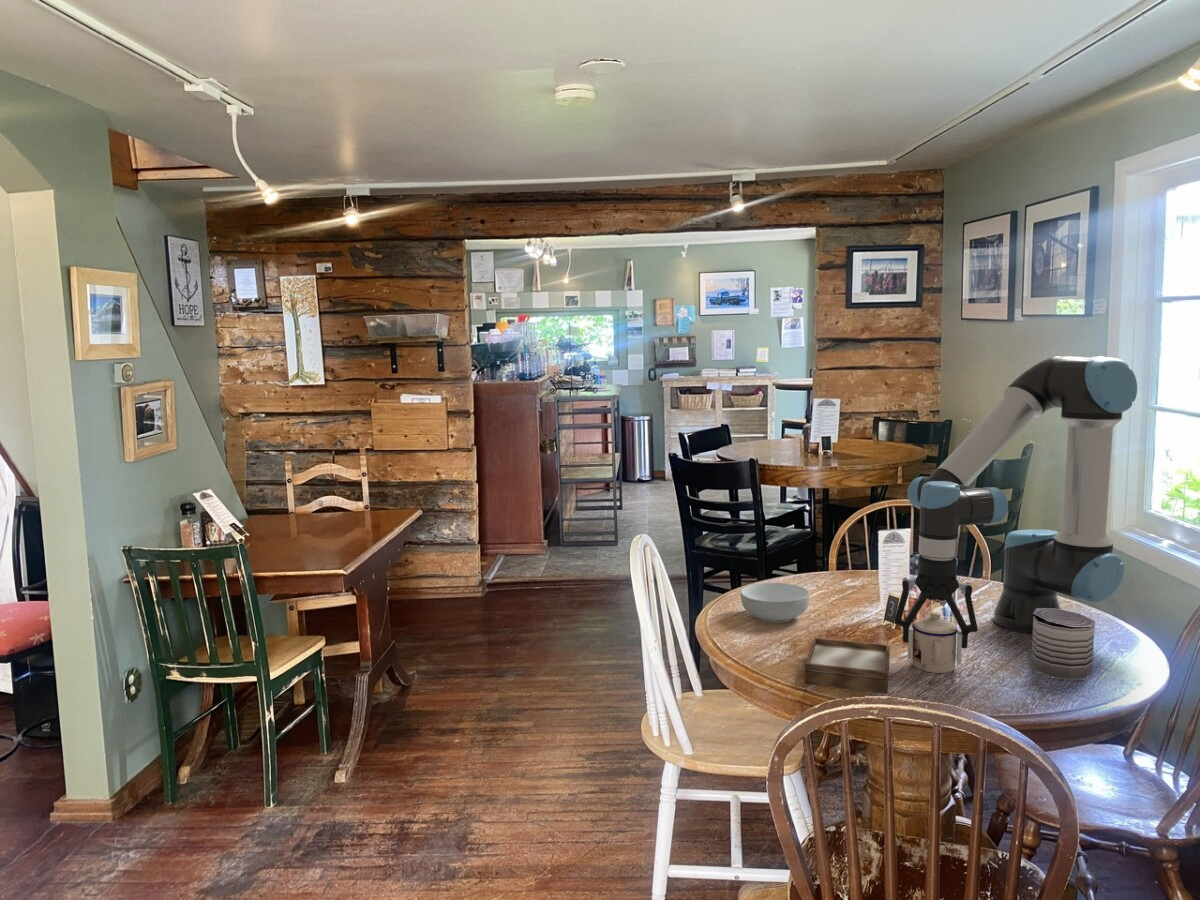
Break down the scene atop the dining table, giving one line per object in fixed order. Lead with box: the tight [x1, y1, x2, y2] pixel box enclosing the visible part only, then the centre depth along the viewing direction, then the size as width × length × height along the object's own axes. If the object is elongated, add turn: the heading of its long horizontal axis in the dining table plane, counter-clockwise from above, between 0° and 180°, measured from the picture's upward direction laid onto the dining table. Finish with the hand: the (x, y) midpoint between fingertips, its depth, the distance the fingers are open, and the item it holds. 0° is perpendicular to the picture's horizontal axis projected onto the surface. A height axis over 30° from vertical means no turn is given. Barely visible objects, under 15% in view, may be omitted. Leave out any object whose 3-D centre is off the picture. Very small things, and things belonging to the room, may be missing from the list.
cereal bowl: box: [740, 581, 810, 624], centre depth 215 cm, size 17×17×7 cm
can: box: [1030, 608, 1096, 681], centre depth 179 cm, size 11×11×12 cm
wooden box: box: [804, 637, 891, 694], centre depth 180 cm, size 16×16×4 cm
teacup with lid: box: [911, 611, 959, 674], centre depth 181 cm, size 12×9×12 cm
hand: (934, 659), depth 182 cm, fingers closed on teacup with lid, 9 cm apart
